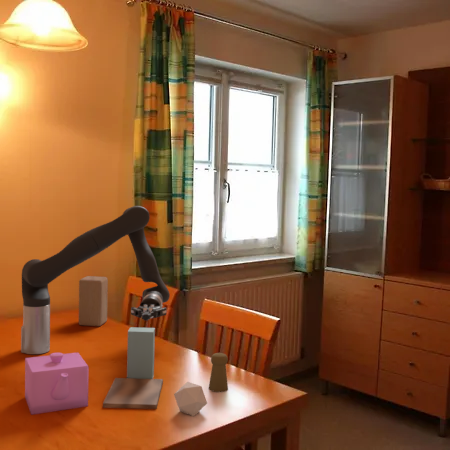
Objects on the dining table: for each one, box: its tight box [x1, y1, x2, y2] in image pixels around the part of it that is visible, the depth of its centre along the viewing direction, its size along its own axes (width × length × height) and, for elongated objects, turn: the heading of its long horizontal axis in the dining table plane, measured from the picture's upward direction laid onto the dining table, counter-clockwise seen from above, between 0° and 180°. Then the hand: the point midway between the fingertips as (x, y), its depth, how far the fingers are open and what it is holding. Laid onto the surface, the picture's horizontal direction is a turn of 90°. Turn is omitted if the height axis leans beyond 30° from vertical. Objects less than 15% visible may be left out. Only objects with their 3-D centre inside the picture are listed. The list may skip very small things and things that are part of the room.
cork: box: [208, 352, 229, 393], centre depth 175 cm, size 6×6×11 cm
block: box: [78, 275, 109, 327], centre depth 245 cm, size 10×10×20 cm
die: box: [173, 381, 208, 417], centre depth 157 cm, size 8×9×10 cm
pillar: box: [126, 326, 156, 379], centre depth 181 cm, size 8×5×16 cm, turn 91°
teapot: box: [24, 352, 89, 415], centre depth 160 cm, size 15×25×14 cm, turn 27°
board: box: [102, 377, 164, 410], centre depth 168 cm, size 15×20×1 cm
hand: (145, 317), depth 189 cm, fingers closed
